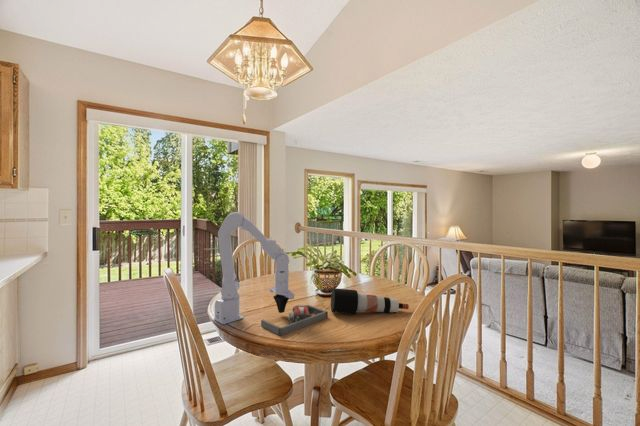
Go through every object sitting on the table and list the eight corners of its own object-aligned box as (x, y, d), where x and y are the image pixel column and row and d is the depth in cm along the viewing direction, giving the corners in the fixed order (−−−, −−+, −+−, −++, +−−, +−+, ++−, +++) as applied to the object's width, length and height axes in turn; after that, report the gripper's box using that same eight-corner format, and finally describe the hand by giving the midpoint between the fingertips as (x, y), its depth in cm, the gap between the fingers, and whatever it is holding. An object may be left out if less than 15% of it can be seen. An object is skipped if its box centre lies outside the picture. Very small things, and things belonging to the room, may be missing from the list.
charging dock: (280, 336, 106) (280, 329, 106) (261, 326, 115) (261, 319, 115) (327, 317, 124) (327, 311, 124) (308, 310, 133) (308, 304, 133)
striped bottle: (407, 323, 130) (414, 307, 125) (331, 317, 127) (335, 300, 122) (401, 306, 139) (407, 290, 134) (330, 299, 136) (333, 283, 131)
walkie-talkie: (288, 311, 132) (288, 330, 112) (288, 301, 132) (288, 319, 112) (308, 311, 133) (311, 329, 113) (308, 301, 133) (311, 318, 113)
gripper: (300, 281, 123) (299, 314, 124) (278, 275, 133) (278, 305, 134) (286, 285, 118) (286, 318, 119) (265, 278, 128) (265, 309, 129)
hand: (281, 312), depth 126 cm, fingers closed
